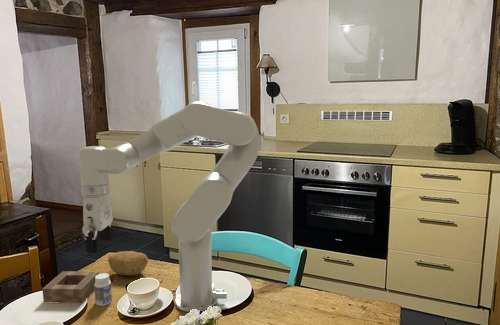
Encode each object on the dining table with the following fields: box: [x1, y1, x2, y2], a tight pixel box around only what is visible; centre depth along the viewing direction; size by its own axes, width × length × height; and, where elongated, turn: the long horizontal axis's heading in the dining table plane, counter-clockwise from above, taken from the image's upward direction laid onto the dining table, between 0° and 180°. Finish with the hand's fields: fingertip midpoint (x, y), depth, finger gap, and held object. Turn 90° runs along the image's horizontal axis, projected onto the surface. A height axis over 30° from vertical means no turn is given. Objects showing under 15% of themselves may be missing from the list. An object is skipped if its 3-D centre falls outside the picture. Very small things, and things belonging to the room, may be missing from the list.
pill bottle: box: [94, 272, 113, 306], centre depth 119 cm, size 5×5×8 cm
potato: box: [107, 250, 149, 277], centre depth 138 cm, size 10×14×8 cm
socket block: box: [42, 270, 100, 304], centre depth 125 cm, size 12×12×4 cm
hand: (99, 246), depth 117 cm, fingers open, 9 cm apart
